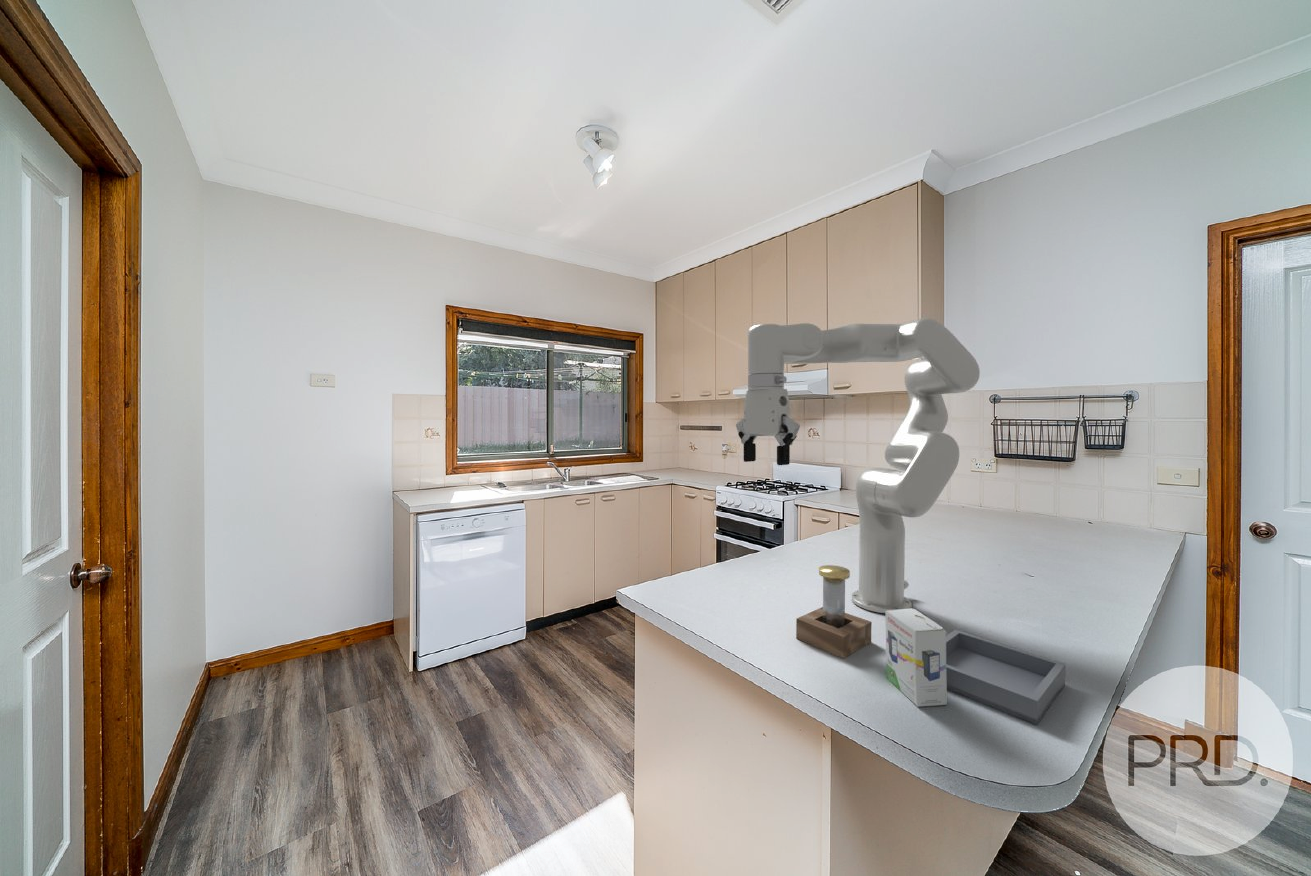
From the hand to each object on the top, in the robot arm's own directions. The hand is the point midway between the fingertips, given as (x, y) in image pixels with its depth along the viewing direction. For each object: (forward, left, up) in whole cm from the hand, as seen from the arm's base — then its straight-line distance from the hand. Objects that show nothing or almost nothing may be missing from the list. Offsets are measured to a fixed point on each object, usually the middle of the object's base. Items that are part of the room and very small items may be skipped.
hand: (765, 463), depth 102 cm
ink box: (+4, +33, -34) cm, 47 cm away
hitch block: (-2, +15, -34) cm, 37 cm away
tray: (-9, +39, -34) cm, 53 cm away
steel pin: (-2, +15, -34) cm, 37 cm away
